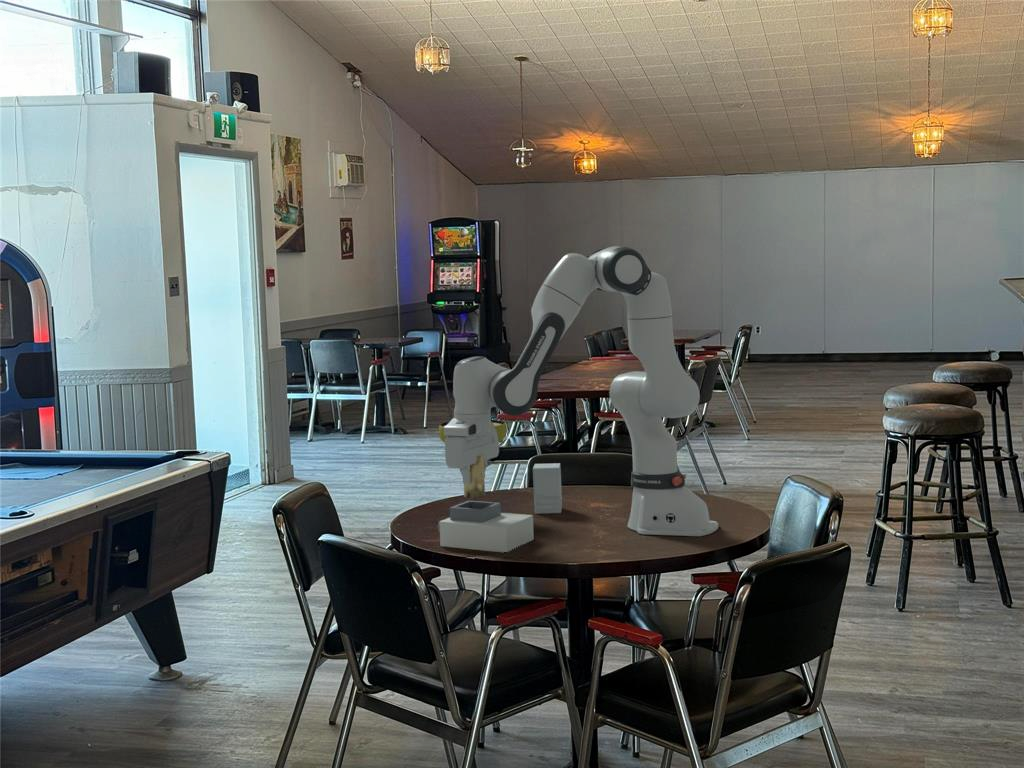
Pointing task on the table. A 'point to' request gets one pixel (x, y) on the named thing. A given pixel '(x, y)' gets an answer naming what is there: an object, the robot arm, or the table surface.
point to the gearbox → (485, 527)
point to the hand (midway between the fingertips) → (474, 481)
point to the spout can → (476, 480)
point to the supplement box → (547, 488)
